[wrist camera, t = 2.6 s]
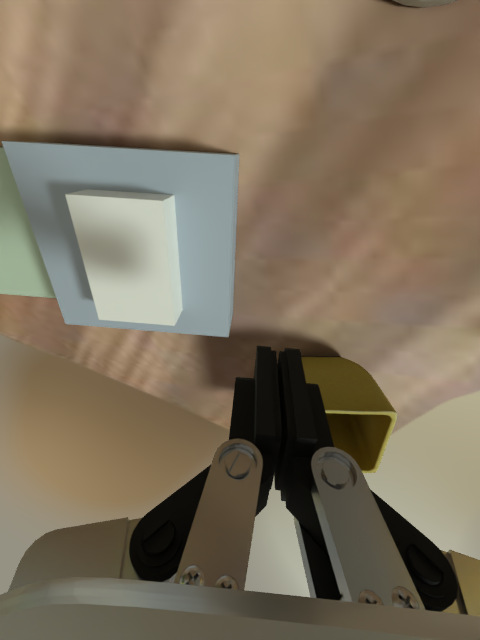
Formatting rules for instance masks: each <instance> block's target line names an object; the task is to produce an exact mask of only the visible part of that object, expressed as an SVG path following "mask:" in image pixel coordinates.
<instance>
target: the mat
mask: <svg viewBox="0 0 480 640" xmlns="http://www.w3.org/2000/svg"><path fill="white" fill-rule="evenodd" d="M0 294H11V295H24V296H36V297H49V298H56V295H55V292H54V289H53V287H52V284H51V281H50V278H49V275H48V272H47V269H46V267H45V264H44V261H43V258H42V255H41V252H40V250H39V247H38V244H37V241H36V238H35V235H34V232H33V230H32V227H31V224H30V221H29V218H28V215H27V213H26V210H25V207H24V204H23V201H22V198H21V195H20V193H19V190H18V187H17V184H16V181H15V178H14V176H13V173H12V170H11V167H10V164H9V161H8V158H7V156H6V153H5V150H4V147H0Z"/></svg>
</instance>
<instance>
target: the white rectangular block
mask: <svg viewBox="0 0 480 640" xmlns="http://www.w3.org/2000/svg"><path fill="white" fill-rule="evenodd" d="M65 196H66V199H67V203H68V207H69V211H70V214H71V218H72V222H73V225H74V229H75V233H76V237H77V240H78V244H79V248H80V251H81V255H82V259H83V262H84V266H85V270H86V274H87V277H88V281H89V285H90V288H91V292H92V296H93V299H94V303H95V307H96V311H97V314H98V318H99V320H109V321H122V322H134V323H146V324H158V325H170V326H175V324H176V322H177V320H178V318H179V316H180V314H181V312H182V310H183V308H182V294H181V280H180V266H179V252H178V239H177V225H176V211H175V197H174V195H169V194H154V193H138V192H123V191H108V190H93V189H86V190H82V191H77V192H73V193H69V194H65Z"/></svg>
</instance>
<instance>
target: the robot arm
mask: <svg viewBox="0 0 480 640" xmlns="http://www.w3.org/2000/svg"><path fill="white" fill-rule="evenodd" d="M393 1H395V2H398V3H400V4H402V5H407V6H415V7H424V8H425V7H432V6H438V5H445V4H449V3H451V2H454V1H456V0H393ZM274 476H275V489H276V490H281V500H282V501H286V508H287V509H288V510H289V511H290V512H291V513H292V515H293V516H294V523H295V528H296V533H297V537H298V541H299V546H300V550H301V555H302V560H303V565H304V569H305V574H306V578H307V583H308V587H309V592H310V597H311V598H309V597H301V596H291V595H282V594H272V593H262V592H254V591H244V587H245V581H246V574H247V567H248V561H249V554H250V548H251V541H252V534H253V528H254V521H255V517H256V516H257V515H258V514H259V512H260V511H261V510H262V509H263V508H264V507H265V506H266V504H267V500H268V495H269V490H270V489H271V486H272V482H273V477H274ZM0 640H480V560H477V559H475V558H472V557H469V556H466V555H463V554H461V553H458V552H455V551H452V550H449V551H448V552H445V551H441V550H439V548H438V547H437V546H436V545H435V544H434V543H433V542H431V541H430V540H429V539H428V538H427V537H425V535H423V534H422V533H421V532H420V531H419V530H417V529H416V528H415V527H414V526H413V525H412V524H410V523H409V522H408V521H407V520H406V519H404V518H403V517H402V516H401V515H400V514H399V513H397V512H396V511H395V510H394V509H393V508H392V507H390V506H389V505H388V504H387V503H386V502H384V501H383V500H382V499H381V498H379V497H378V496H377V495H376V494H375V493H374V492H372V491H371V490H370V488H369V486H368V484H367V482H366V480H365V477H364V475H363V473H362V471H361V469H360V467H359V466H358V464H357V462H356V461H355V460H354V459H353V458H352V457H351V456H350V455H349V454H347V453H346V452H344V451H343V450H340V449H338V448H335V447H334V444H333V440H332V436H331V432H330V428H329V424H328V420H327V416H326V412H325V408H324V404H323V400H322V396H321V392H320V388H319V385H318V384H311V383H306V379H305V374H304V369H303V364H302V359H301V354H300V350H299V349H290V348H285V350H284V352H282V351H280V352H279V358H278V364H277V358H276V351H271V347H265V346H257V352H256V361H255V371H254V379H252V378H240V377H236V381H235V390H234V399H233V408H232V417H231V426H230V436H229V440H228V441H226V442H224V443H223V444H221V446H220V447H219V448H218V449H217V451H216V453H215V455H214V458H213V461H212V464H211V465H210V466H209V467H207V468H206V469H205V470H203V471H202V472H201V473H199V474H198V475H197V476H196V477H194V478H193V479H192V480H190V481H189V482H188V483H187V484H185V485H184V486H182V487H181V488H180V489H178V490H177V491H176V492H175V493H173V494H172V495H171V496H170V497H168V498H167V499H165V500H164V501H163V502H162V503H160V504H159V505H158V506H156V507H155V508H154V509H152V510H151V511H150V512H148V513H147V514H146V515H145V516H144V517H143V518H140V519H134V520H129V519H128V517H127V518H122V519H116V520H110V521H104V522H98V523H92V524H86V525H80V526H75V527H68V528H63V529H57V530H54V531H51V532H48V533H46V534H44V535H43V536H41V537H40V538H39V539H37V540H36V541H35V542H34V543H33V544H32V545H31V546H30V547H29V548H28V550H27V551H26V552H25V554H24V556H23V557H22V559H21V561H20V563H19V565H18V567H17V570H16V573H15V575H14V578H13V580H12V583H11V585H10V588H9V590H8V592H7V593H4V594H1V595H0Z"/></svg>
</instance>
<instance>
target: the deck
mask: <svg viewBox="0 0 480 640" xmlns="http://www.w3.org/2000/svg"><path fill="white" fill-rule="evenodd" d="M2 144H3V147H4V150H5V153H6V156H7V158H8V161H9V164H10V167H11V170H12V173H13V176H14V178H15V181H16V184H17V187H18V190H19V193H20V195H21V198H22V201H23V204H24V207H25V210H26V213H27V215H28V218H29V221H30V224H31V227H32V230H33V232H34V235H35V238H36V241H37V244H38V247H39V250H40V252H41V255H42V258H43V261H44V264H45V267H46V269H47V272H48V275H49V278H50V281H51V284H52V287H53V289H54V292H55V295H56V298H57V301H58V304H59V306H60V309H61V312H62V315H63V318H64V321H65V324H74V325H86V326H98V327H110V328H122V329H134V330H147V331H159V332H171V333H183V334H195V335H207V336H219V337H229V332H230V326H231V321H232V315H233V294H234V270H235V246H236V222H237V198H238V175H239V154H229V153H212V152H196V151H179V150H162V149H146V148H129V147H113V146H96V145H80V144H63V143H47V142H15V141H2ZM86 189H93V190H108V191H123V192H138V193H154V194H169V195H174V197H175V211H176V225H177V239H178V252H179V266H180V280H181V294H182V308H183V310H182V312H181V314H180V316H179V318H178V320H177V322H176V324H175V326H170V325H158V324H146V323H134V322H122V321H109V320H99V318H98V314H97V311H96V307H95V303H94V299H93V296H92V292H91V288H90V285H89V281H88V277H87V274H86V270H85V266H84V262H83V259H82V255H81V251H80V248H79V244H78V240H77V237H76V233H75V229H74V225H73V222H72V218H71V214H70V211H69V207H68V203H67V199H66V196H65V194H69V193H73V192H77V191H82V190H86Z"/></svg>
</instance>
